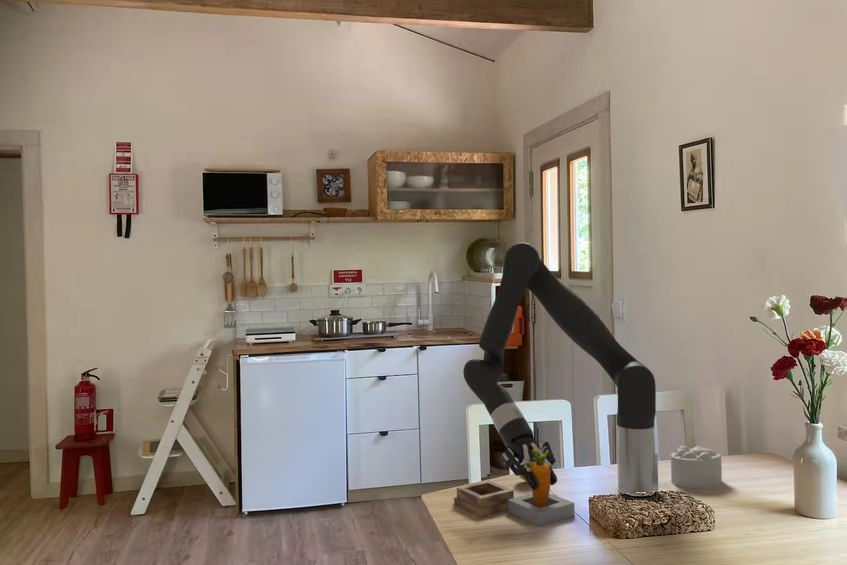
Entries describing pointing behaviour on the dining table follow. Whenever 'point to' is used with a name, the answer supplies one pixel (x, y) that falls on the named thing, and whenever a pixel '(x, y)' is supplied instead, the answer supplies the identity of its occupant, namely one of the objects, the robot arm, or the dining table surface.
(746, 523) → the dining table surface
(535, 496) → the carrot
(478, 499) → the square wooden tray
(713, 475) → the lumpy-topped squat cylinder
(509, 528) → the dining table surface
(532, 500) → the socket block
